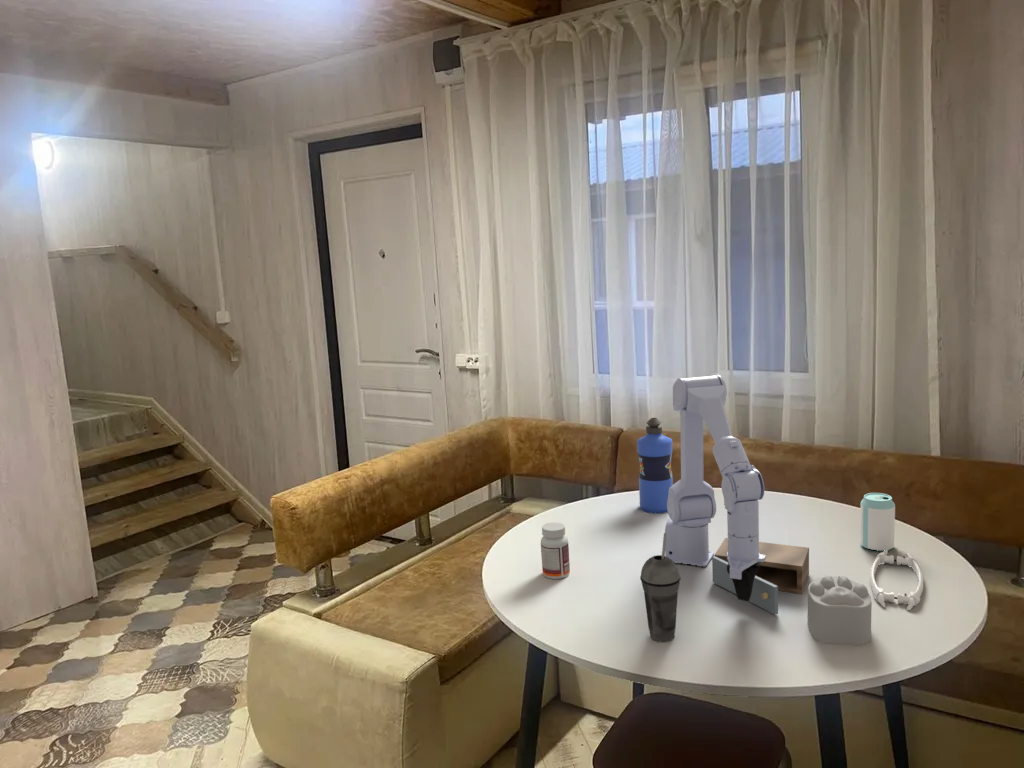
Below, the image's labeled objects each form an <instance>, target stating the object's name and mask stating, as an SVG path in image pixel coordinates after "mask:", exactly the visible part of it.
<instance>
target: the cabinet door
mask: <svg viewBox="0 0 1024 768" xmlns="http://www.w3.org/2000/svg"><path fill="white" fill-rule="evenodd" d="M711 563H712V564H711V567H712V583H714V584H716V585H718V586H719V587H720V588H723V589H725V590H727V591H729V592H730V593H732V594H735V595H736V591H735V587H734V583H733V581H732V578H730V575H729V573H728V572H727V565H728V562H726V561H724V560H722V559H720V558H718V557H716V556H715V555H713V556H712V558H711ZM748 602H749V603H751V604H753V605H756V606H758V607H759V608H761V609H763V610H766V611H767V612H769V613H771V614H773V615H778V614H779V591H778V586H776V585H774V584H772V583H770V582H768V581H766V580H764V579H762V578H760V577H758V576H755V578H754V583H753V588H752V593H751V597H750V599H749V601H748Z"/></svg>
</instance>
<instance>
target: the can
mask: <svg viewBox="0 0 1024 768" xmlns="http://www.w3.org/2000/svg"><path fill="white" fill-rule="evenodd" d="M859 511H860V512H859V513H860V515H859V516H860V520H859V521H860V524H859V526H860V527H859V529H860V530H859V534H860V535H859V544H860V545H861V546H862V547H863V548H865V549H866V548H868V549H871V550H878V551H883V552H884V550H888V551H890V550H892V549H893V548H894V547H895V530H896V529H895V527H896V526H895V525H896V522H895V521H896V504H895V502H894V501H893V497H892V496H891V495H889V494H887V493H882V492H869V493H866V494H864V495H863V498H862V499H861V501H860V510H859ZM868 549H867V550H868ZM871 550H870V551H871ZM878 551H877V552H878Z"/></svg>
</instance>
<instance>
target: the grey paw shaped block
mask: <svg viewBox="0 0 1024 768" xmlns="http://www.w3.org/2000/svg"><path fill="white" fill-rule="evenodd" d="M872 604H873V602H872V599H871V595H870V593H869V590H868V588H867V587H866V585H864V584H862V583H857V582H855V581H854V580H851V579H849V578H848V577H847V576H845V575H844V576H843V575H841V576H837V575H832V576H831V575H825V576H823V577H819V578H816V579H814V580H812V582H810V583H809V585H808V586H807V629H808V631H809V633H810V634H811V637H812V638H813V639H814V640H816V641H818V642H819V643H822V644H826V645H827V644H828V645H848V646H849V645H850V646H856V647H857V646H860V647H861V646H866V645H868V644H869V643H871V641H872Z"/></svg>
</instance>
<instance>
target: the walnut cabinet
mask: <svg viewBox="0 0 1024 768" xmlns="http://www.w3.org/2000/svg"><path fill="white" fill-rule="evenodd" d="M727 552H728V537H724V540H722V543H721V544H720V546H719V547H718V549H717V550H716V552H714V556H716V557H718V558H720V559H722V560H724V561H726V562H728V559H727ZM759 553H760V554H762V555H765V556H766V559H765V561H764V562H760V567H759V568H758V571H757V573H756V575H755V576H758V577H760V578H762V579H764V580H766V581H768V582H770V583H772V584H774V585H776V586H778V592H779V591H780V592H785V593H792V594H799V595H803V593H804V590H805V586H806V584H807V582H806V581H808V579H809V576H810V547H805V546H798V545H791V544H780V543H774V542H773V543H771V542H764V541H763V542H762V541H759ZM728 563H729V562H728ZM808 575H809V576H808ZM807 578H808V579H807Z"/></svg>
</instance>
